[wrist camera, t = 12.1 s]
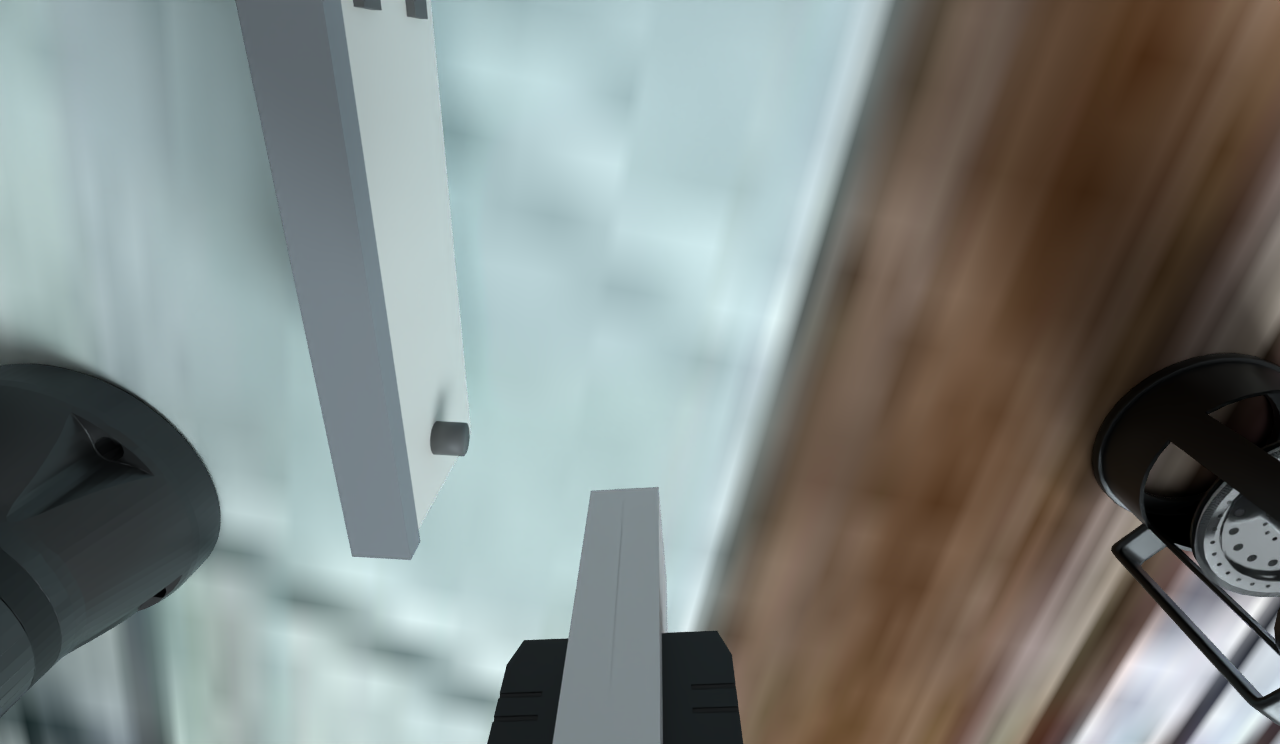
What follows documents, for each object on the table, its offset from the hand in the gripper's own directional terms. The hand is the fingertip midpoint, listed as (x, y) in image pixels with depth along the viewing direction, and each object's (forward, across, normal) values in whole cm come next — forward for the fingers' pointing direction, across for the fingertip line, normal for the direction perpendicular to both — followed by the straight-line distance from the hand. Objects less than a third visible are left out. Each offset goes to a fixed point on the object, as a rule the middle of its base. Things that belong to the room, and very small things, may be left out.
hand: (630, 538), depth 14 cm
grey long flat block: (+16, -8, +5) cm, 18 cm away
